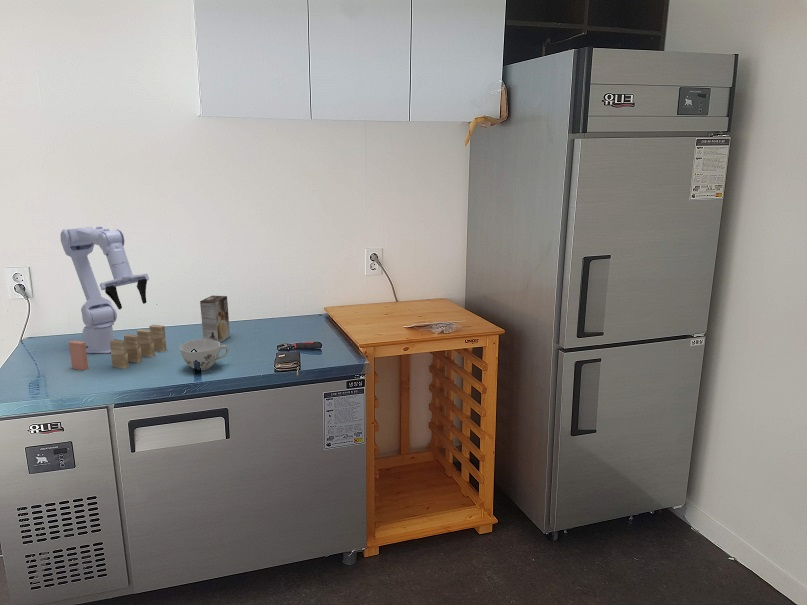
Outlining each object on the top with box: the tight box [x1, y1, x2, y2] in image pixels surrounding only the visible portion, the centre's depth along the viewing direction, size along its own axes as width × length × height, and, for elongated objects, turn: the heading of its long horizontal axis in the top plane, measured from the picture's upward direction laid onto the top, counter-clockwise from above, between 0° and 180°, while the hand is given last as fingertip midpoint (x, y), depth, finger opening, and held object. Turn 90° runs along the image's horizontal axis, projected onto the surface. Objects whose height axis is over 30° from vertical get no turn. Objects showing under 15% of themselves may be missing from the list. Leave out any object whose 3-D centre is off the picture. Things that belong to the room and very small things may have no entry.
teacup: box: [179, 338, 229, 371], centre depth 203 cm, size 15×12×8 cm
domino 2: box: [123, 333, 143, 364], centre depth 209 cm, size 2×5×9 cm, turn 69°
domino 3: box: [136, 328, 156, 358], centre depth 214 cm, size 2×5×9 cm, turn 70°
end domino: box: [68, 340, 89, 371], centre depth 201 cm, size 2×5×9 cm, turn 70°
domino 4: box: [149, 324, 168, 353], centre depth 219 cm, size 2×5×9 cm, turn 70°
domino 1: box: [110, 338, 130, 370], centre depth 203 cm, size 2×5×9 cm, turn 70°
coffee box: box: [199, 295, 231, 344], centre depth 231 cm, size 9×6×16 cm
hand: (132, 305), depth 199 cm, fingers open, 7 cm apart
